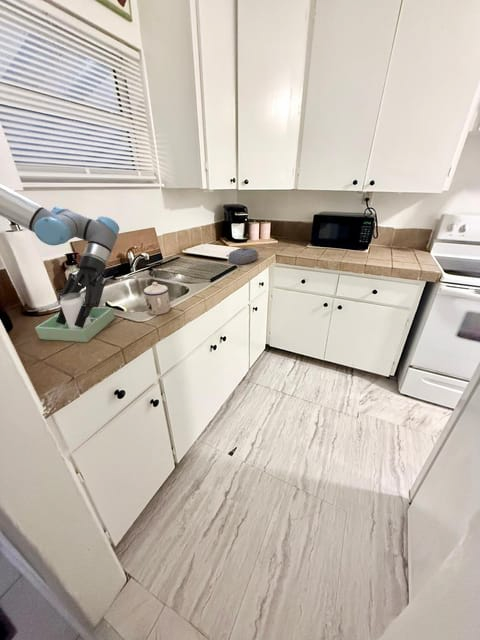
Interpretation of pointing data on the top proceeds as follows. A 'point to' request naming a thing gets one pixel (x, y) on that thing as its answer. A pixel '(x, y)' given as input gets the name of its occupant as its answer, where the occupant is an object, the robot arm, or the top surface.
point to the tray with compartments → (62, 332)
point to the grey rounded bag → (243, 256)
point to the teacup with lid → (157, 299)
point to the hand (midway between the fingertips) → (69, 324)
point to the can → (73, 309)
